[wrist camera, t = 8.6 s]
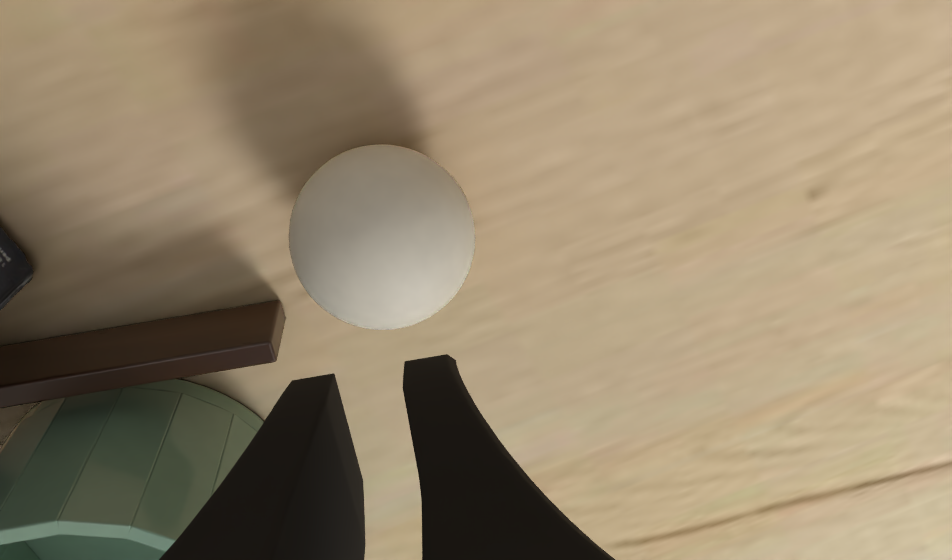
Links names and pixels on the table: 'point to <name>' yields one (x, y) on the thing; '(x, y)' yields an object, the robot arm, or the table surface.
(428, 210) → the off-white sphere
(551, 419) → the table surface
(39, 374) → the bar
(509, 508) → the robot arm
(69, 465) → the waste bin
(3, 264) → the small box
